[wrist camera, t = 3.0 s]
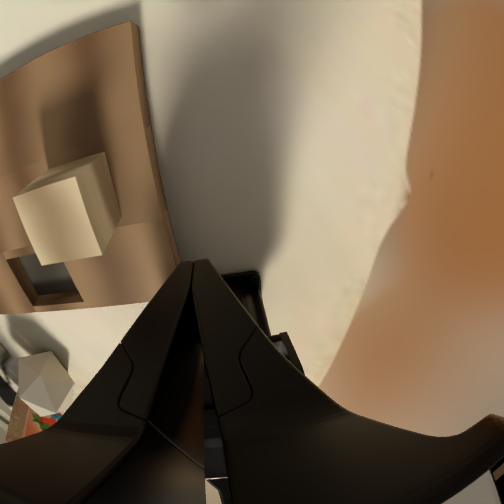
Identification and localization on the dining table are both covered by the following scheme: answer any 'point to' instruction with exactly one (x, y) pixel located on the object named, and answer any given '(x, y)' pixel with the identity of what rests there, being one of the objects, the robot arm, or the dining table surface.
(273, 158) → the dining table surface
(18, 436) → the fruit juice
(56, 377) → the die
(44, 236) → the birch cube
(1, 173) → the board
